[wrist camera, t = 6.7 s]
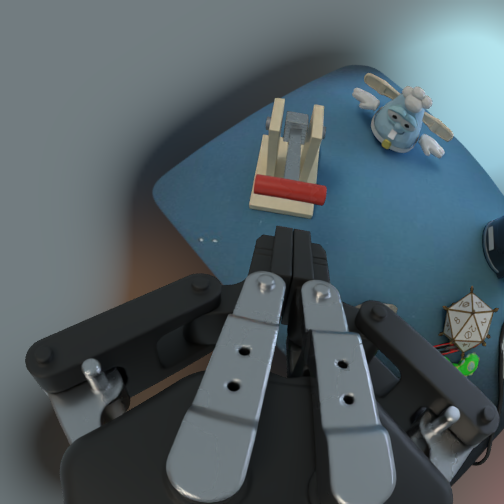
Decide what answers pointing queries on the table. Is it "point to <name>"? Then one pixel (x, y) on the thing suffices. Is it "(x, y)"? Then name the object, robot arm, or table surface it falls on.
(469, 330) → the game die
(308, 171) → the lever stand
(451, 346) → the red paper clip
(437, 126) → the toy figure
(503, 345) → the skull
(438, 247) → the table surface
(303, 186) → the lever
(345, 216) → the table surface
